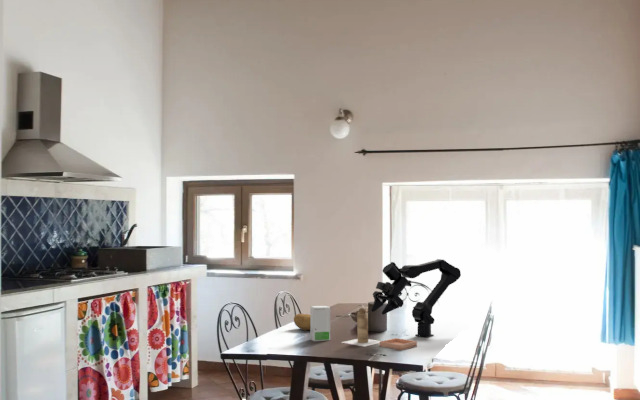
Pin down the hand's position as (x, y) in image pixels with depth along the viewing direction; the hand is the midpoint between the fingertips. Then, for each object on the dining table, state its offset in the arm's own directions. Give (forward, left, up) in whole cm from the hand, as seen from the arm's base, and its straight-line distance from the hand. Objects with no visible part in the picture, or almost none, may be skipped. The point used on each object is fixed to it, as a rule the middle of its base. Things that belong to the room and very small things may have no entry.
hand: (376, 312), depth 296 cm
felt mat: (+7, -3, -13) cm, 15 cm away
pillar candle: (-23, -19, -13) cm, 32 cm away
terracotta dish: (+3, +14, -13) cm, 20 cm away
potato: (0, -46, -13) cm, 47 cm away
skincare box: (+15, -22, -13) cm, 29 cm away
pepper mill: (+7, -3, -13) cm, 15 cm away
